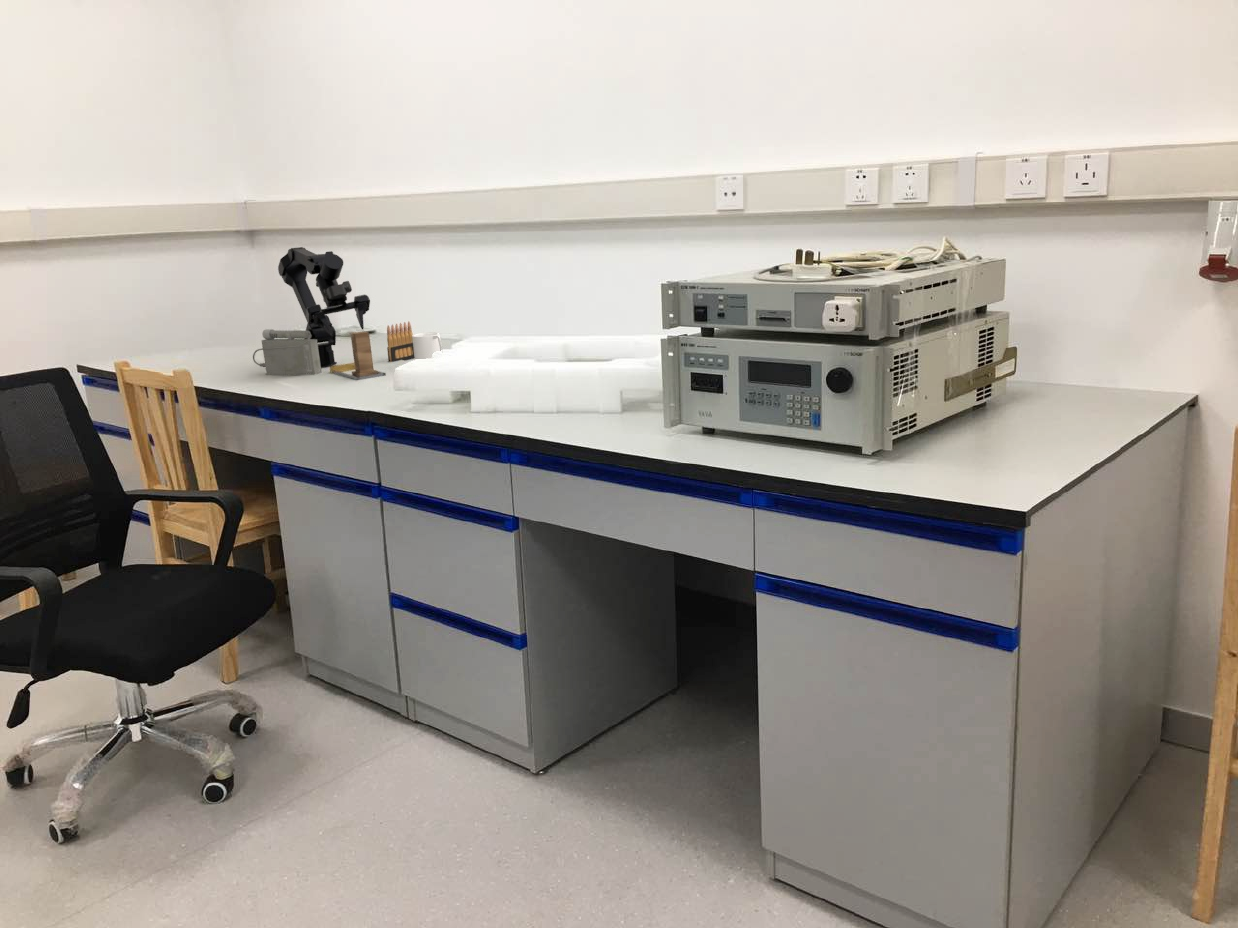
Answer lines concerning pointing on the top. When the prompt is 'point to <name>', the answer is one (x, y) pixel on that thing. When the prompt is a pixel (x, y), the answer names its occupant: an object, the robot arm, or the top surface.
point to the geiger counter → (289, 353)
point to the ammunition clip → (400, 343)
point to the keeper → (362, 354)
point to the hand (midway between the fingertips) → (347, 332)
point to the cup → (426, 344)
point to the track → (351, 366)
